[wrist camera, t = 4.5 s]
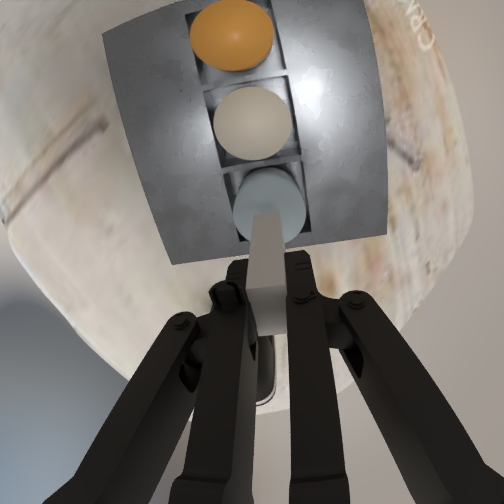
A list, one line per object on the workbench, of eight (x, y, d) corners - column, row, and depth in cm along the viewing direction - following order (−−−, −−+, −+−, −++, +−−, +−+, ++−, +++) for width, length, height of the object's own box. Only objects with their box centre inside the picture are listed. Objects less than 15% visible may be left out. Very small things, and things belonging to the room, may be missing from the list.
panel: (120, 37, 16) (102, 33, 13) (345, -9, 13) (356, -21, 11) (180, 246, 26) (171, 264, 24) (375, 218, 24) (386, 234, 21)
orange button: (194, 20, 14) (183, 10, 11) (264, 5, 13) (264, -8, 11) (208, 79, 16) (198, 77, 14) (278, 65, 16) (280, 61, 13)
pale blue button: (230, 173, 20) (225, 187, 18) (296, 163, 20) (301, 175, 17) (244, 230, 23) (241, 250, 20) (304, 221, 22) (309, 241, 20)
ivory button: (214, 94, 18) (205, 95, 15) (281, 82, 17) (284, 80, 15) (228, 155, 20) (222, 166, 18) (292, 145, 20) (297, 153, 17)
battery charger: (267, 284, 28) (266, 384, 19) (277, 311, 30) (279, 406, 20) (203, 297, 30) (180, 391, 20) (216, 322, 31) (200, 412, 22)
